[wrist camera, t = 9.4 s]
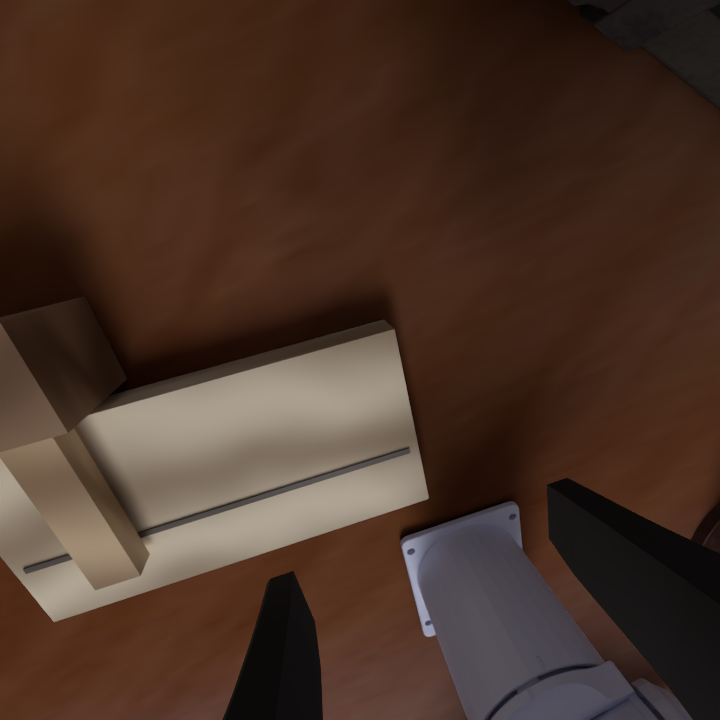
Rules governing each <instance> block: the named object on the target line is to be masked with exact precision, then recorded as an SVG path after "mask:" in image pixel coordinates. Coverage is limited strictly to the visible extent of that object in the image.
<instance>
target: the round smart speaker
mask: <svg viewBox="0 0 720 720" xmlns="http://www.w3.org/2000/svg"><path fill="white" fill-rule="evenodd" d="M691 541H693V542H696V543H698V544H700V545H702V546H705V547H707V548H709V549H711V550H713V551H716V552H718V553H720V503H719V504H718V505H717V506H716V507H715V508H714V509H713V510H712V511H711V512H710V513H709V514H708V515H707V516H706V517H705V519H704V520H703V521H702V523H701V524H700V525H699V527H698V528H697V530H696V532H695V533H694V535H693V537H692V539H691Z"/></svg>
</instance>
